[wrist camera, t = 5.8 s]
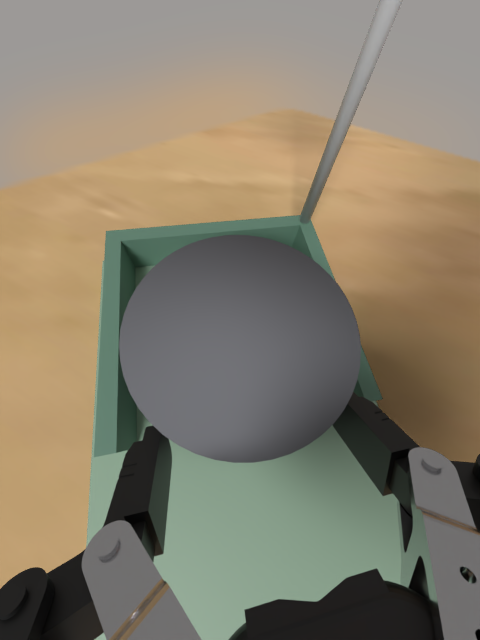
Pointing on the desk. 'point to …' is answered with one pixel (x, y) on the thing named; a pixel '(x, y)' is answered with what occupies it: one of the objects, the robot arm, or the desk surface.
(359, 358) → the grey domed cylinder
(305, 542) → the mini golf green
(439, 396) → the desk surface
